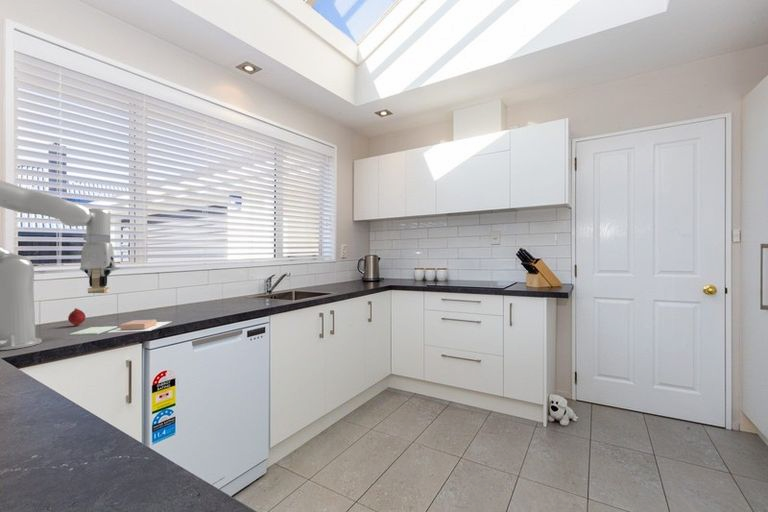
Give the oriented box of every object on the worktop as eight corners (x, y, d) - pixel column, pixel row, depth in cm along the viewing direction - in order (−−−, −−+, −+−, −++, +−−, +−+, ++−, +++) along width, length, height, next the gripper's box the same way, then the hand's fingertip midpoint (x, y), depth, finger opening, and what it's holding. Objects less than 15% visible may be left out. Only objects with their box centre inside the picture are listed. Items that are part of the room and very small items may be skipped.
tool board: (97, 335, 138) (97, 332, 138) (69, 337, 137) (69, 333, 137) (117, 329, 150) (117, 326, 150) (91, 330, 149) (91, 327, 149)
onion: (88, 324, 162) (87, 306, 162) (81, 326, 157) (80, 308, 156) (73, 325, 161) (72, 307, 161) (65, 327, 155) (64, 309, 155)
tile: (156, 324, 153) (144, 329, 144) (134, 325, 152) (120, 330, 143) (156, 319, 153) (144, 323, 144) (133, 320, 152) (120, 324, 143)
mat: (150, 332, 142) (150, 330, 142) (106, 334, 140) (106, 332, 140) (172, 323, 160) (172, 321, 160) (133, 324, 158) (133, 323, 158)
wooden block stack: (103, 293, 142) (103, 267, 142) (87, 293, 142) (87, 267, 142) (109, 292, 145) (109, 267, 145) (93, 292, 145) (93, 267, 145)
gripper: (69, 239, 139) (68, 287, 139) (113, 239, 141) (113, 287, 140) (83, 240, 147) (83, 285, 147) (126, 240, 148) (125, 285, 148)
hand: (98, 285), depth 143 cm, fingers closed on wooden block stack, 3 cm apart
